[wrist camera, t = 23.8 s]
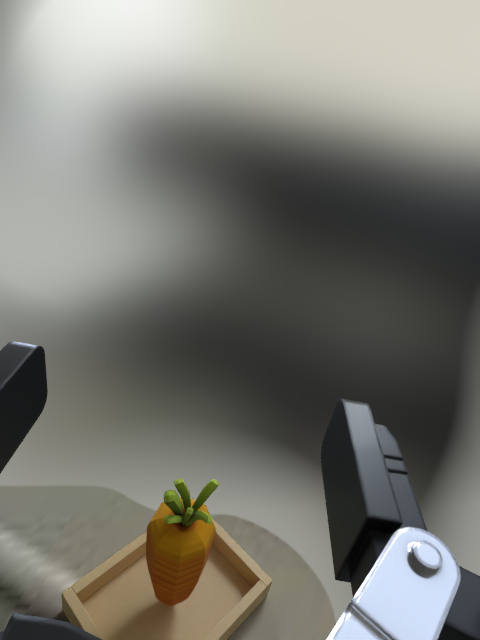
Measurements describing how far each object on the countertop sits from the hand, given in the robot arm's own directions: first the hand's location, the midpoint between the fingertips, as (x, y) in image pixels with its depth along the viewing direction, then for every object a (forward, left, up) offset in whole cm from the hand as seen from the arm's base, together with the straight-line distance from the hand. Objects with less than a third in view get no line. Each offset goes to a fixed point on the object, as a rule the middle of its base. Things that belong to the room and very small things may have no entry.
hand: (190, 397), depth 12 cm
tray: (+8, +6, -32) cm, 33 cm away
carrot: (+8, +6, -32) cm, 33 cm away
